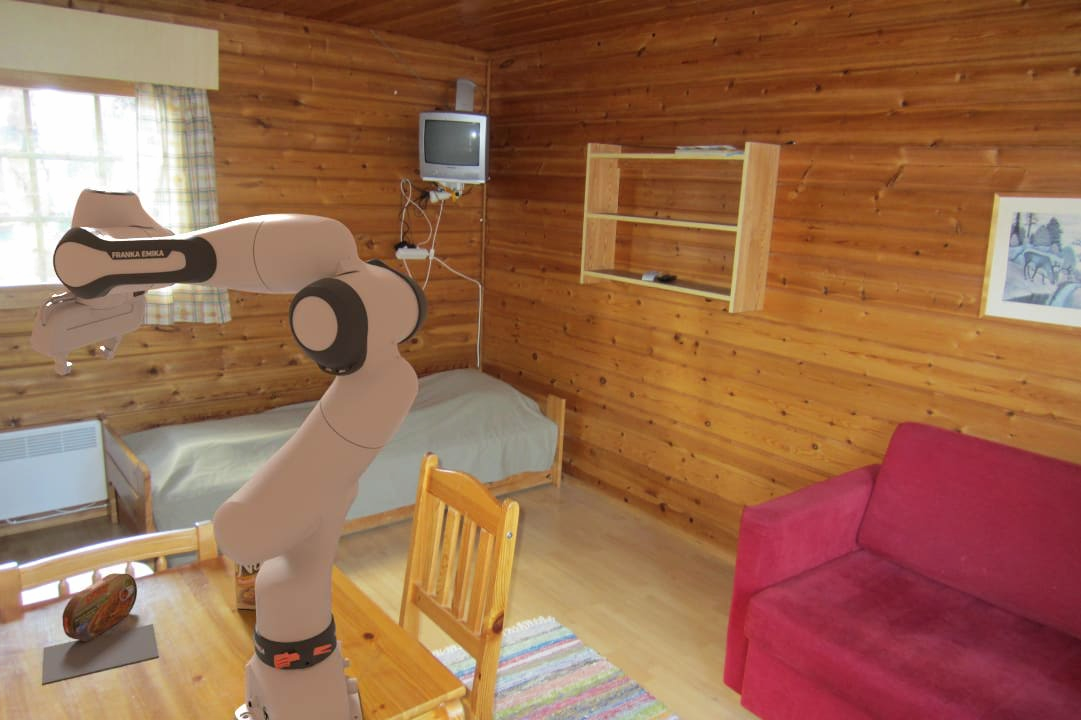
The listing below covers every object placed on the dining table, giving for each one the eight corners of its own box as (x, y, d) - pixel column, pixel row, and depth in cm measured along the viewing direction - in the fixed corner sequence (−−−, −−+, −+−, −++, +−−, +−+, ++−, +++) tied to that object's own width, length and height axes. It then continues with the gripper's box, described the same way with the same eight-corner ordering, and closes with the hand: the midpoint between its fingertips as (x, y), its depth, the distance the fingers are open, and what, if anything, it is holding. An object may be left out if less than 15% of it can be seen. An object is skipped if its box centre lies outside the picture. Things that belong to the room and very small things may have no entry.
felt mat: (158, 656, 138) (158, 655, 138) (42, 684, 130) (42, 683, 130) (153, 624, 147) (153, 623, 147) (43, 648, 139) (43, 647, 139)
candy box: (235, 609, 154) (231, 534, 150) (244, 598, 158) (241, 525, 154) (281, 612, 153) (278, 537, 150) (289, 600, 157) (286, 527, 154)
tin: (76, 650, 139) (71, 605, 137) (61, 647, 139) (56, 602, 138) (140, 607, 153) (136, 566, 151) (126, 605, 154) (122, 564, 152)
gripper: (61, 306, 117) (50, 390, 122) (156, 282, 137) (144, 356, 141) (24, 290, 118) (15, 375, 122) (124, 269, 137) (112, 343, 142)
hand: (84, 365), depth 132 cm, fingers open, 8 cm apart
